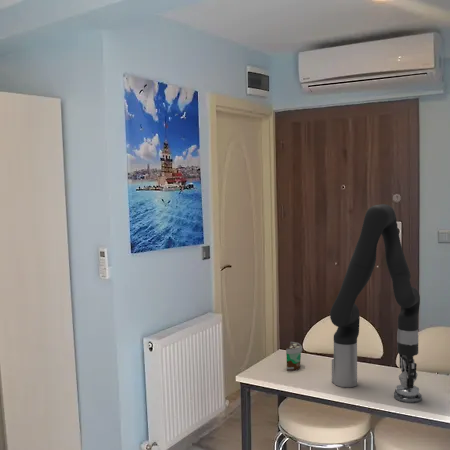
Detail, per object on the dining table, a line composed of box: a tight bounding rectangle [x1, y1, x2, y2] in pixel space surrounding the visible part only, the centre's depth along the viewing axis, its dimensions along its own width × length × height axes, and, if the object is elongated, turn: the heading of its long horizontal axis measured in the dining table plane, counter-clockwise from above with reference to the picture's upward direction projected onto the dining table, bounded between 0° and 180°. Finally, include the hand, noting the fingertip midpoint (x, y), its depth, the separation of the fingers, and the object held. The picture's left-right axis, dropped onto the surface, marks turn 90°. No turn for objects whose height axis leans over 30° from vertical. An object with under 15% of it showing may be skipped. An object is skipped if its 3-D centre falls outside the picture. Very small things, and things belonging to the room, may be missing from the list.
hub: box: [393, 384, 423, 404], centre depth 202 cm, size 10×10×4 cm
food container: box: [285, 341, 303, 372], centre depth 239 cm, size 12×6×10 cm, turn 164°
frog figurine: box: [398, 369, 418, 388], centre depth 202 cm, size 6×7×7 cm
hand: (407, 384), depth 202 cm, fingers closed on frog figurine, 6 cm apart
